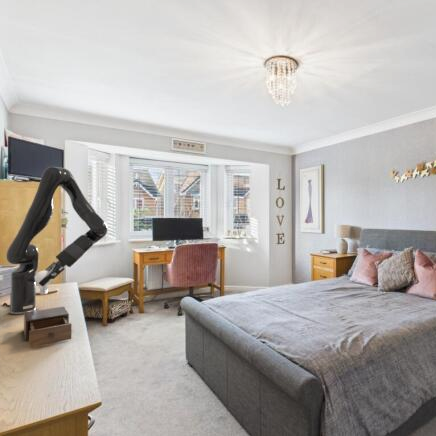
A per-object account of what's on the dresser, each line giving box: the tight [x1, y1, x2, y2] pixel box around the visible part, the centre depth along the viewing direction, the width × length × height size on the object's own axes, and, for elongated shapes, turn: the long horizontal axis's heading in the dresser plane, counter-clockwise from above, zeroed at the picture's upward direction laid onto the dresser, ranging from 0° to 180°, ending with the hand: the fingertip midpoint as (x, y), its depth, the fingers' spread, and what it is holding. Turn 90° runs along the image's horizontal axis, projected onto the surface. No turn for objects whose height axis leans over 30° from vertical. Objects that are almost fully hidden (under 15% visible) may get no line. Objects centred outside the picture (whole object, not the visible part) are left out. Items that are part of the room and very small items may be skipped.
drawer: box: [28, 317, 72, 349], centre depth 120 cm, size 14×12×6 cm
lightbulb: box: [35, 269, 53, 296], centre depth 140 cm, size 6×6×11 cm
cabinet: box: [23, 306, 70, 341], centre depth 130 cm, size 14×14×8 cm
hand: (39, 283), depth 139 cm, fingers closed on lightbulb, 6 cm apart
